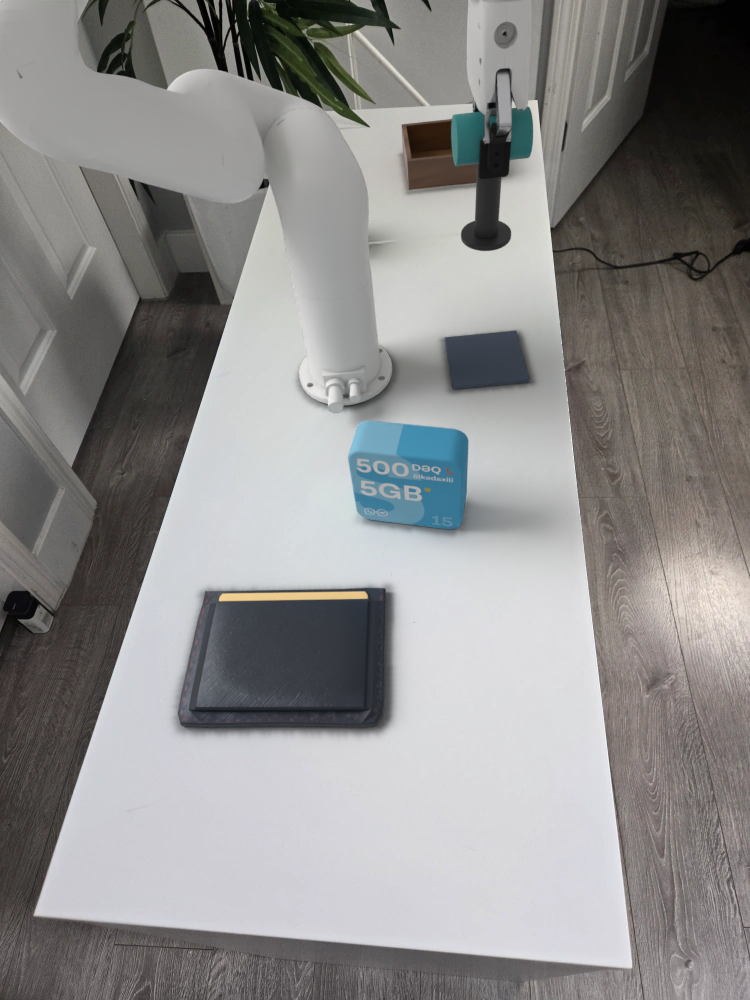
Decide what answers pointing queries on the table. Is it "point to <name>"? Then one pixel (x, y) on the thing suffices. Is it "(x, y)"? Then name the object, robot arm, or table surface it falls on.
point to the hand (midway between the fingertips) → (489, 161)
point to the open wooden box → (432, 156)
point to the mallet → (465, 151)
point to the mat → (486, 360)
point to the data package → (409, 473)
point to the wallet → (287, 659)
